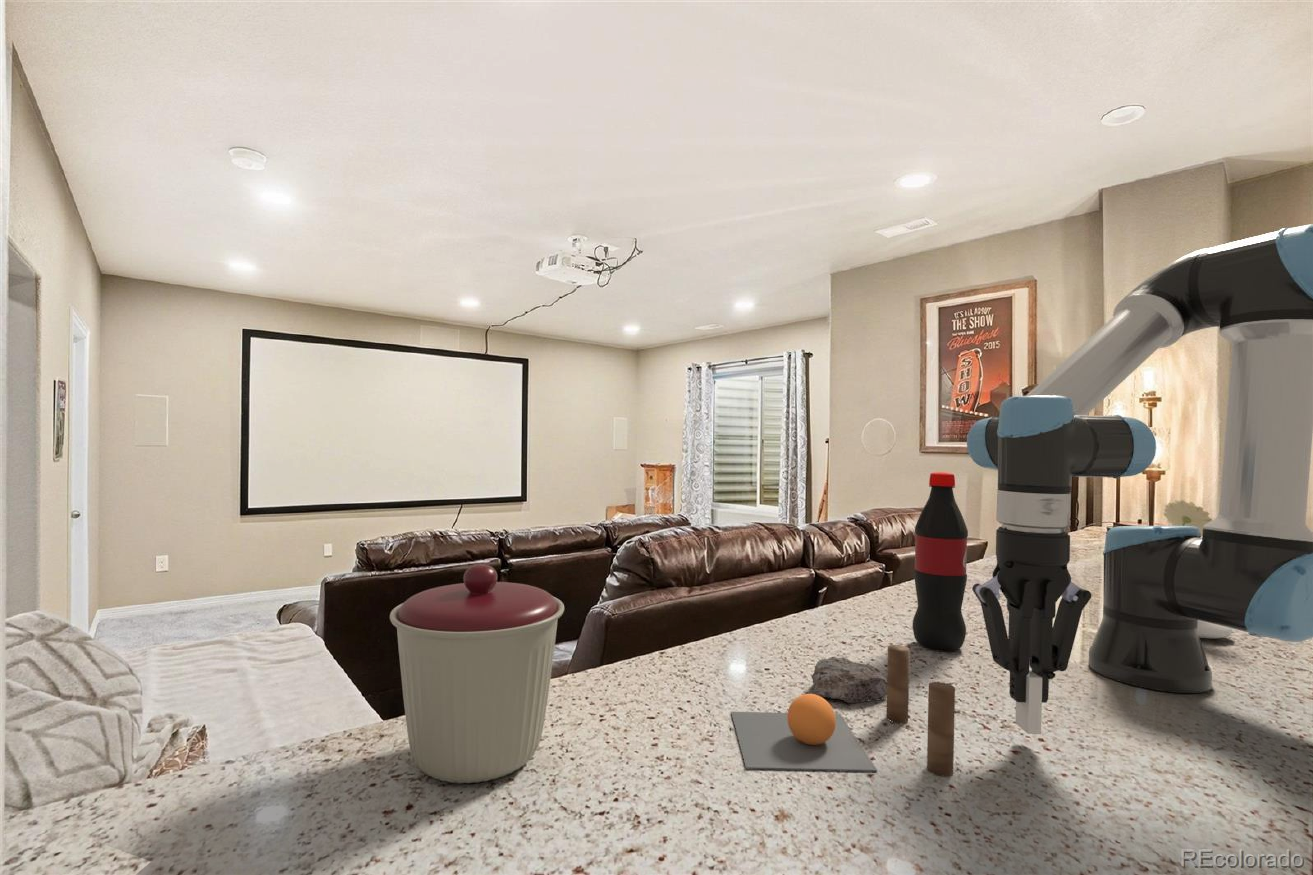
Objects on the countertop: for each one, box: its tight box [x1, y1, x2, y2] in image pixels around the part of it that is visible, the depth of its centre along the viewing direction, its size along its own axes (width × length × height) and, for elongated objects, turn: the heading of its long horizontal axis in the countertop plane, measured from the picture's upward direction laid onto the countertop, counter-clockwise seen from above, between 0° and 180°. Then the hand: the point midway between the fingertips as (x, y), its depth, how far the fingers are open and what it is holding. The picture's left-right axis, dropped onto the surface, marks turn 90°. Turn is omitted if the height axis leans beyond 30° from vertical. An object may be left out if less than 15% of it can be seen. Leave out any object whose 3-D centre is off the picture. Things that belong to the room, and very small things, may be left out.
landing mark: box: [731, 711, 878, 772], centre depth 77 cm, size 14×14×1 cm
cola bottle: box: [912, 471, 969, 653], centre depth 113 cm, size 8×8×30 cm
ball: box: [787, 693, 836, 745], centre depth 76 cm, size 6×6×6 cm
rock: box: [811, 656, 887, 704], centre depth 92 cm, size 9×11×4 cm
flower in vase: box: [1163, 499, 1234, 640], centre depth 123 cm, size 13×11×25 cm
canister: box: [389, 563, 565, 784], centre depth 71 cm, size 18×18×21 cm
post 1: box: [885, 644, 911, 724], centre depth 83 cm, size 3×3×9 cm
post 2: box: [926, 681, 956, 777], centre depth 70 cm, size 3×3×9 cm
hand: (1028, 728), depth 77 cm, fingers closed
